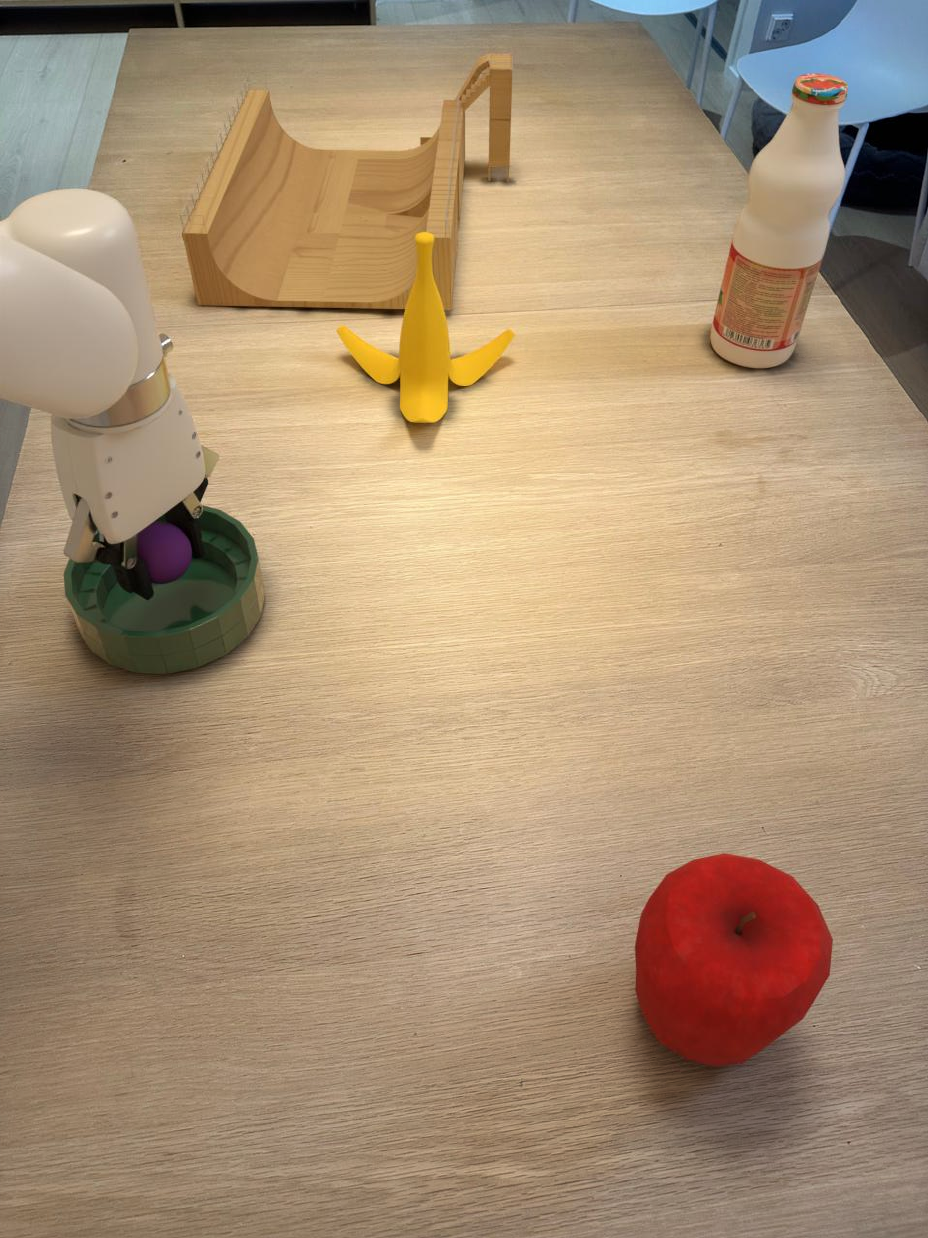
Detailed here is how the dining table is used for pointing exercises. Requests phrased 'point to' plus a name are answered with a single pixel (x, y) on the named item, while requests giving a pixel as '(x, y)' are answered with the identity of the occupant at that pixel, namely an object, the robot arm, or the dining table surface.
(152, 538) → the ball
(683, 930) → the apple
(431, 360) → the banana peel
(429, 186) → the skate ramp
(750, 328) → the milk bottle
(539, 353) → the dining table surface
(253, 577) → the bowl
